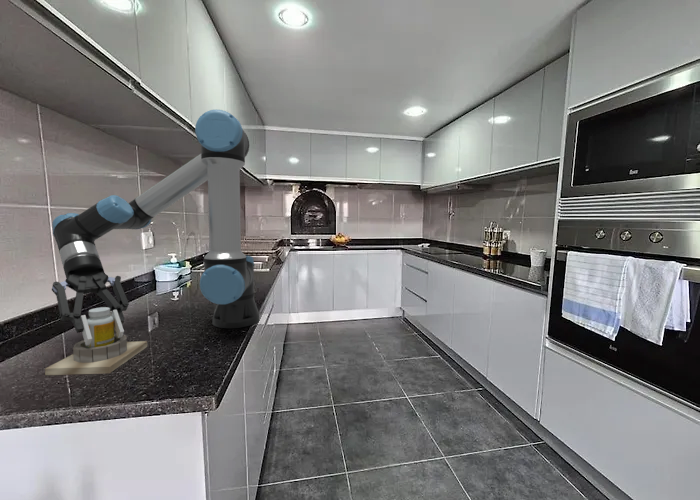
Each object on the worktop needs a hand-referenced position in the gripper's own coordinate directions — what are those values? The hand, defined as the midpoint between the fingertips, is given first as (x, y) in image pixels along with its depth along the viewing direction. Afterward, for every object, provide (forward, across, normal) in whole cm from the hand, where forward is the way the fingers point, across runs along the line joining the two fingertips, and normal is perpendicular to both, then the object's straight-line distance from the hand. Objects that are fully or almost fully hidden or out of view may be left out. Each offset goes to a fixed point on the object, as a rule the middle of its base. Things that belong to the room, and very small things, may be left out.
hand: (105, 338), depth 71 cm
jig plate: (+2, 0, -7) cm, 7 cm away
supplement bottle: (0, 0, -5) cm, 5 cm away
